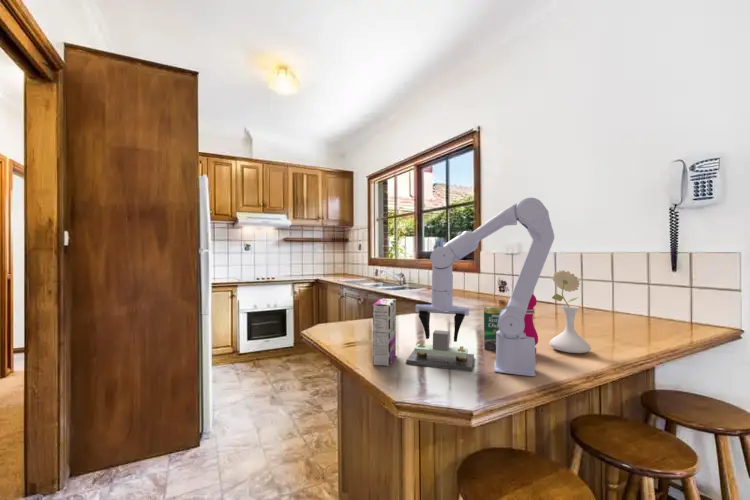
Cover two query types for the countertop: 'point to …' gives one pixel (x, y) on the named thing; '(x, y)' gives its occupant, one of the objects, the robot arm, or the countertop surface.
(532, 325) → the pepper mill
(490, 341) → the coffee box
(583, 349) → the flower in vase
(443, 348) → the board
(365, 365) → the countertop surface
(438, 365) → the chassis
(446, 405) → the countertop surface
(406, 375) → the countertop surface
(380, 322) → the candy bar box
